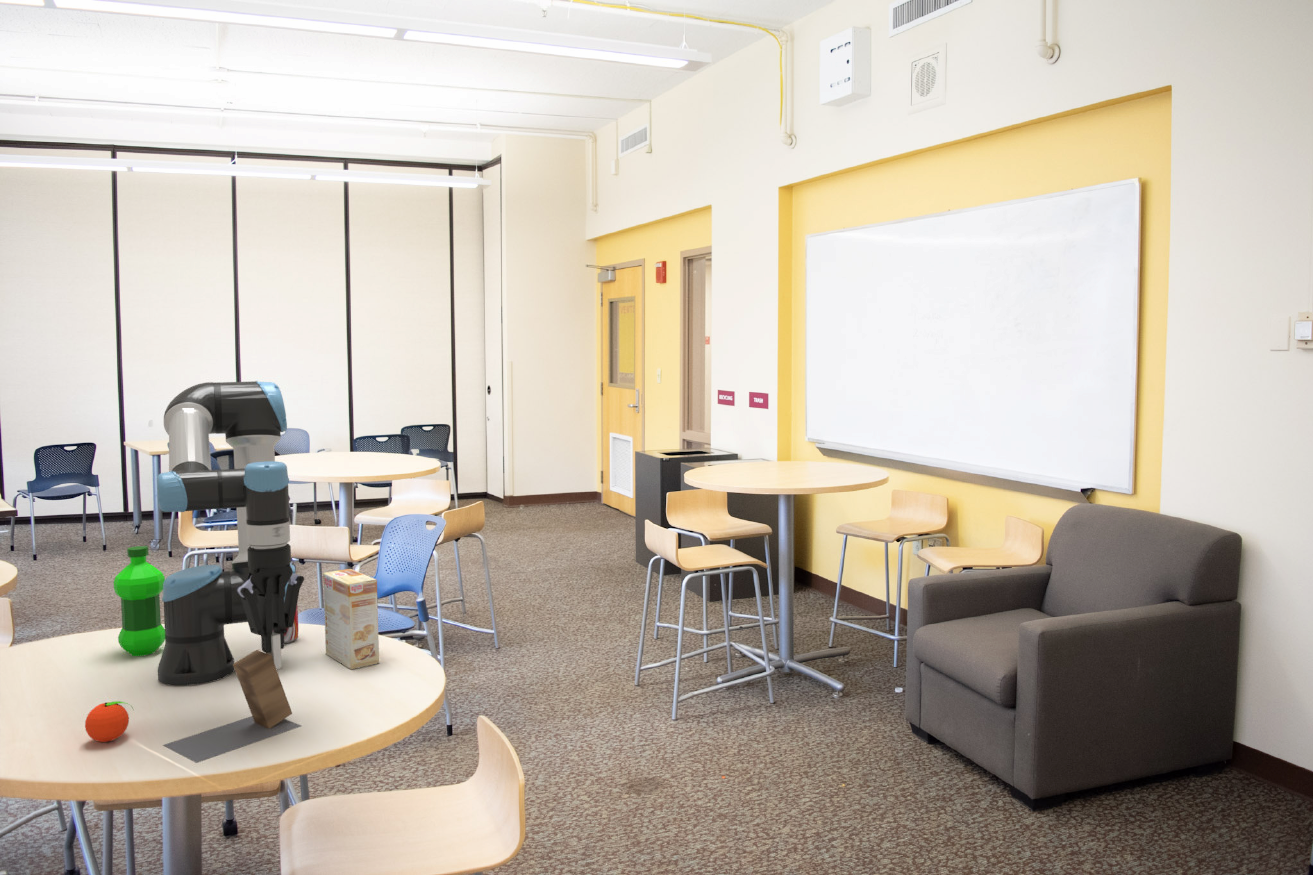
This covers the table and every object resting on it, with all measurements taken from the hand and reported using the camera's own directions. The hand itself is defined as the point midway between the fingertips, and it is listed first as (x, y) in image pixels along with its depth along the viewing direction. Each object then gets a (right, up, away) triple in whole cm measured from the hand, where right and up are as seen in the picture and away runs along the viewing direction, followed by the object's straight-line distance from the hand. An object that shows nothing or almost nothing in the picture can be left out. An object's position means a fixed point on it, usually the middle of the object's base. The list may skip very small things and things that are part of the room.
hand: (273, 667), depth 179 cm
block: (0, -10, +1) cm, 10 cm away
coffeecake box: (+2, -8, +39) cm, 40 cm away
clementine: (-27, -12, -6) cm, 30 cm away
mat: (-5, -12, -6) cm, 14 cm away
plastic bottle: (-48, -7, +43) cm, 65 cm away
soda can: (-19, -6, +52) cm, 56 cm away
